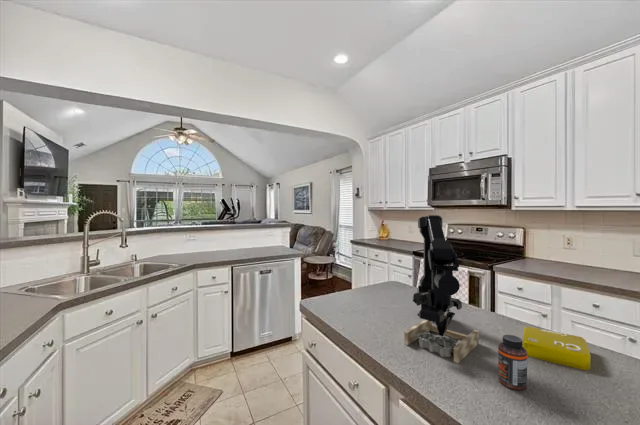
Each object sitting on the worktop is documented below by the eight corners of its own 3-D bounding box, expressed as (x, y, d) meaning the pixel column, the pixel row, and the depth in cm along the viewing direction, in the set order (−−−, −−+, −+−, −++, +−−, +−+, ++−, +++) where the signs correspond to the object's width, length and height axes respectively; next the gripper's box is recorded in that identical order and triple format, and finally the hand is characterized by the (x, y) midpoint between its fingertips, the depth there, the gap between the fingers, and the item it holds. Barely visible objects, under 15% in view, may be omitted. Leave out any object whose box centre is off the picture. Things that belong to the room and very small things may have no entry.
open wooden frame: (428, 328, 104) (428, 317, 104) (478, 343, 92) (478, 330, 92) (404, 344, 92) (404, 331, 92) (458, 363, 81) (458, 348, 81)
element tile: (584, 351, 88) (584, 335, 88) (591, 373, 76) (591, 355, 76) (524, 338, 97) (524, 323, 97) (521, 356, 85) (521, 339, 85)
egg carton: (460, 353, 87) (460, 339, 87) (445, 360, 83) (445, 345, 83) (429, 339, 96) (429, 327, 96) (414, 345, 92) (414, 332, 92)
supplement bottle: (492, 377, 74) (492, 332, 74) (514, 376, 74) (514, 332, 74) (509, 392, 68) (509, 343, 68) (533, 390, 68) (533, 342, 68)
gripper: (429, 277, 104) (429, 320, 104) (403, 287, 91) (403, 337, 91) (462, 282, 96) (462, 329, 96) (438, 294, 83) (439, 348, 83)
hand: (441, 335), depth 92 cm, fingers closed
